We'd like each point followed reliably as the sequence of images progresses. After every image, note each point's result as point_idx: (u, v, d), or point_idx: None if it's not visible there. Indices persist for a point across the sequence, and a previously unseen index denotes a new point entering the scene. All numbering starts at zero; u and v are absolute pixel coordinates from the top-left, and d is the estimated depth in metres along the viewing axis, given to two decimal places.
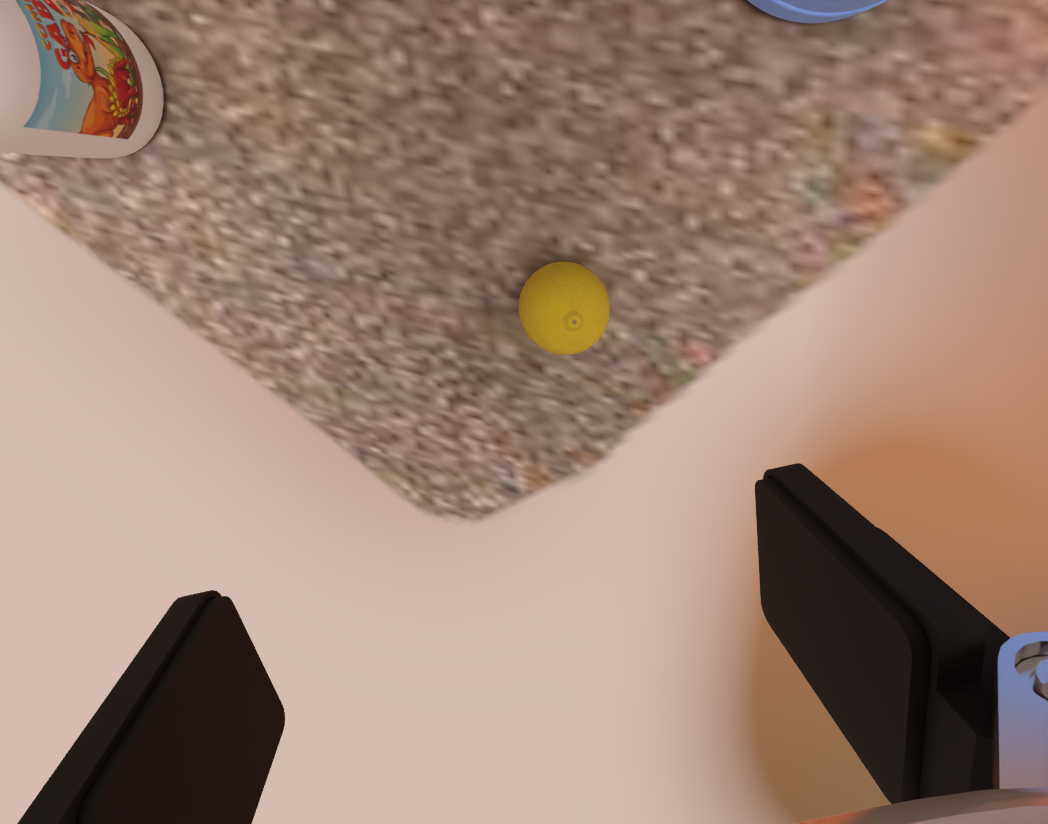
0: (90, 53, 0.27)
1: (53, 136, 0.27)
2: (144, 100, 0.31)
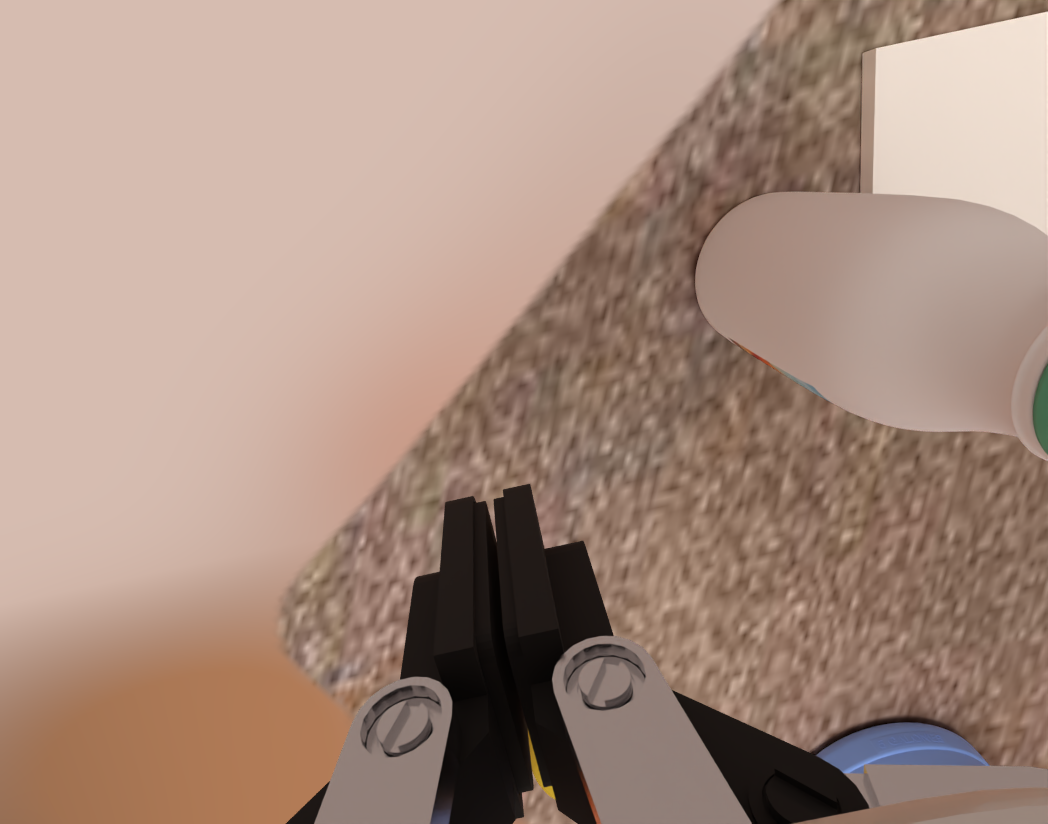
0: None
1: (779, 364, 0.23)
2: None
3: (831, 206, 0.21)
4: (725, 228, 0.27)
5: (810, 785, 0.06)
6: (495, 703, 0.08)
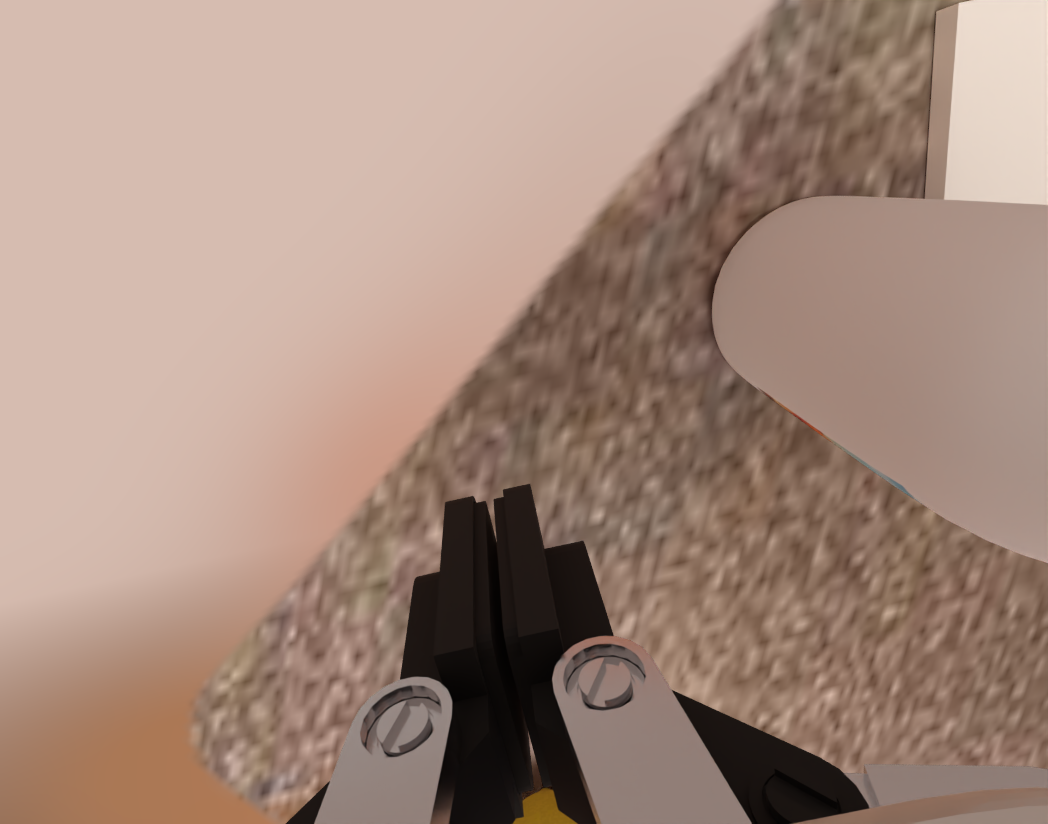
0: None
1: (842, 442, 0.16)
2: None
3: (925, 220, 0.15)
4: (754, 244, 0.21)
5: (810, 785, 0.06)
6: (495, 703, 0.08)
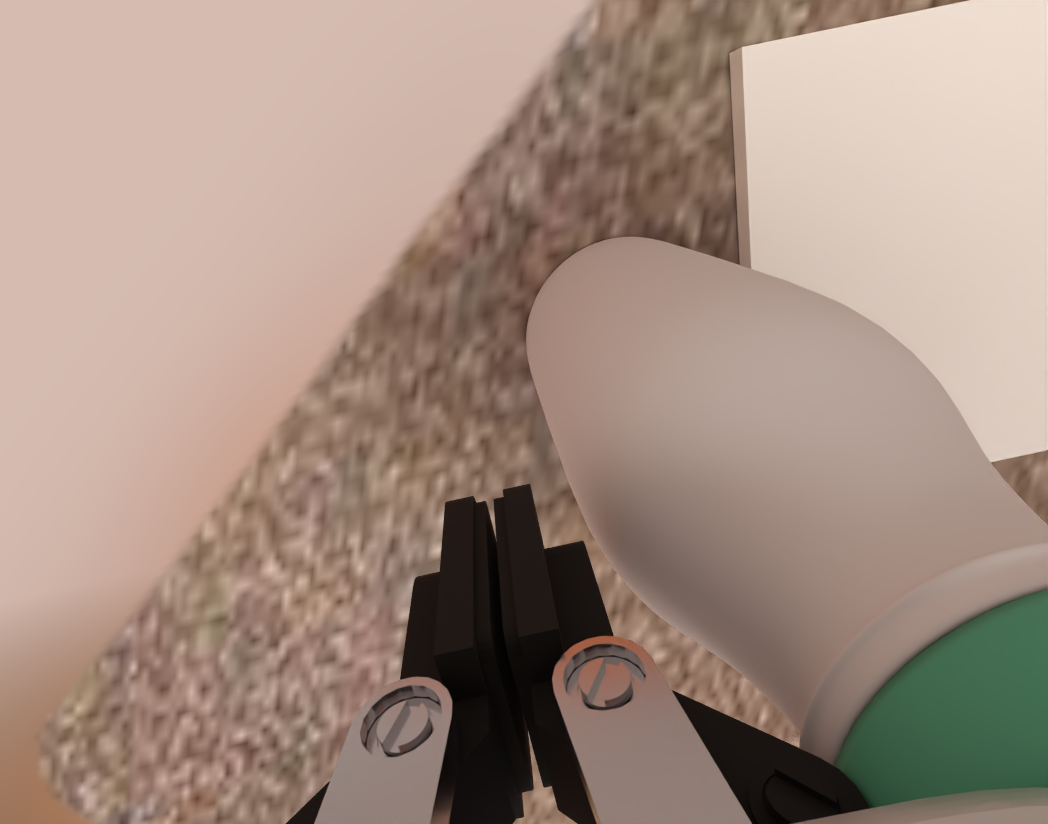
0: None
1: None
2: None
3: (639, 280, 0.14)
4: (550, 287, 0.20)
5: (810, 785, 0.06)
6: (495, 703, 0.08)
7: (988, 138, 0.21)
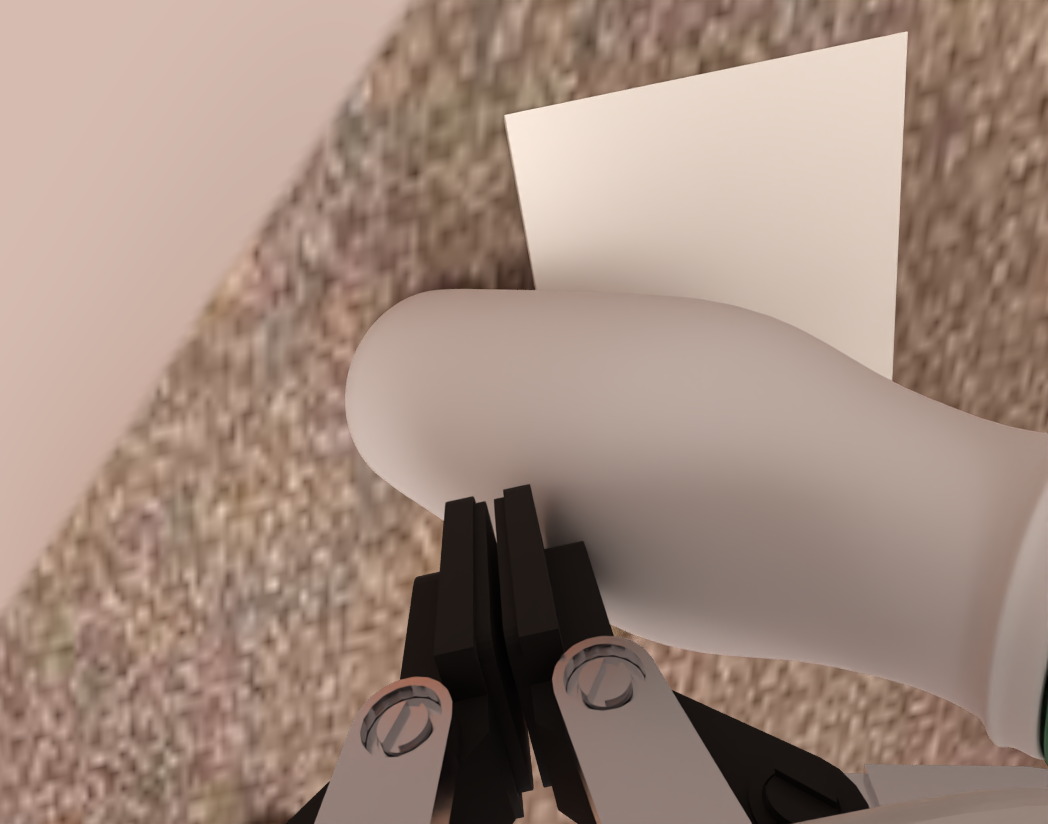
0: None
1: None
2: None
3: (529, 311, 0.14)
4: (377, 342, 0.18)
5: (810, 785, 0.06)
6: (495, 703, 0.08)
7: (763, 197, 0.22)
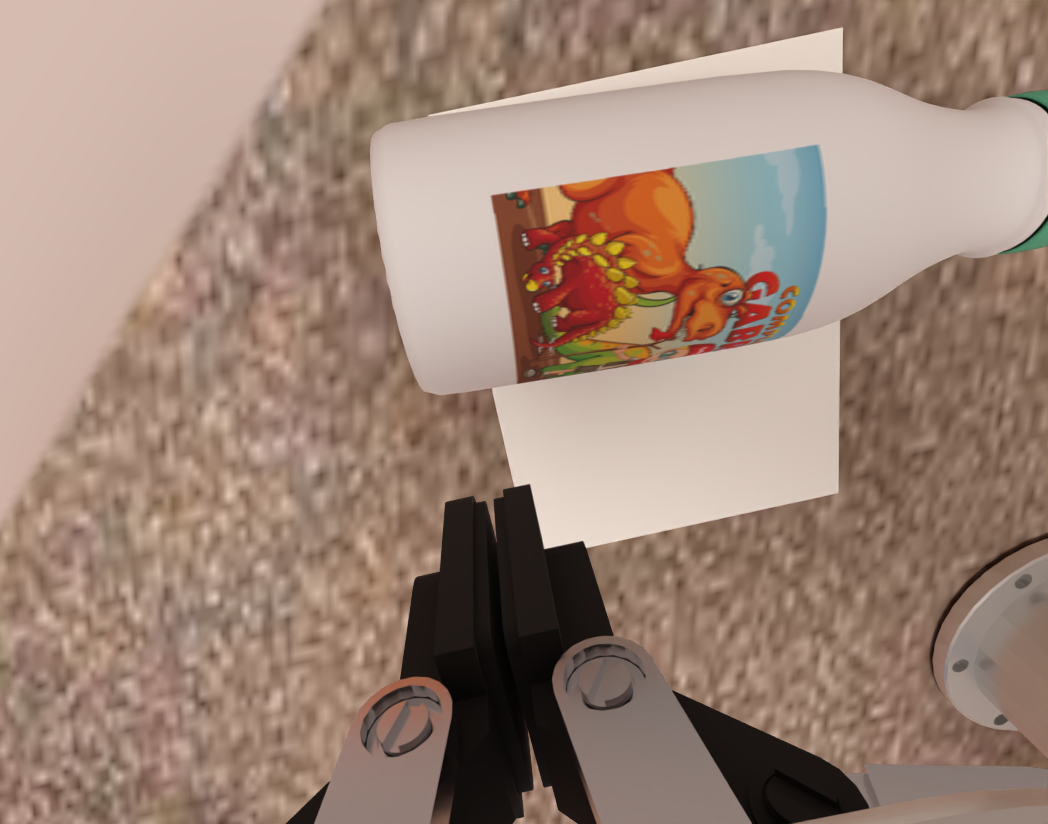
0: (674, 317, 0.15)
1: (727, 144, 0.14)
2: (499, 295, 0.14)
3: None
4: None
5: (810, 785, 0.06)
6: (495, 703, 0.08)
7: None
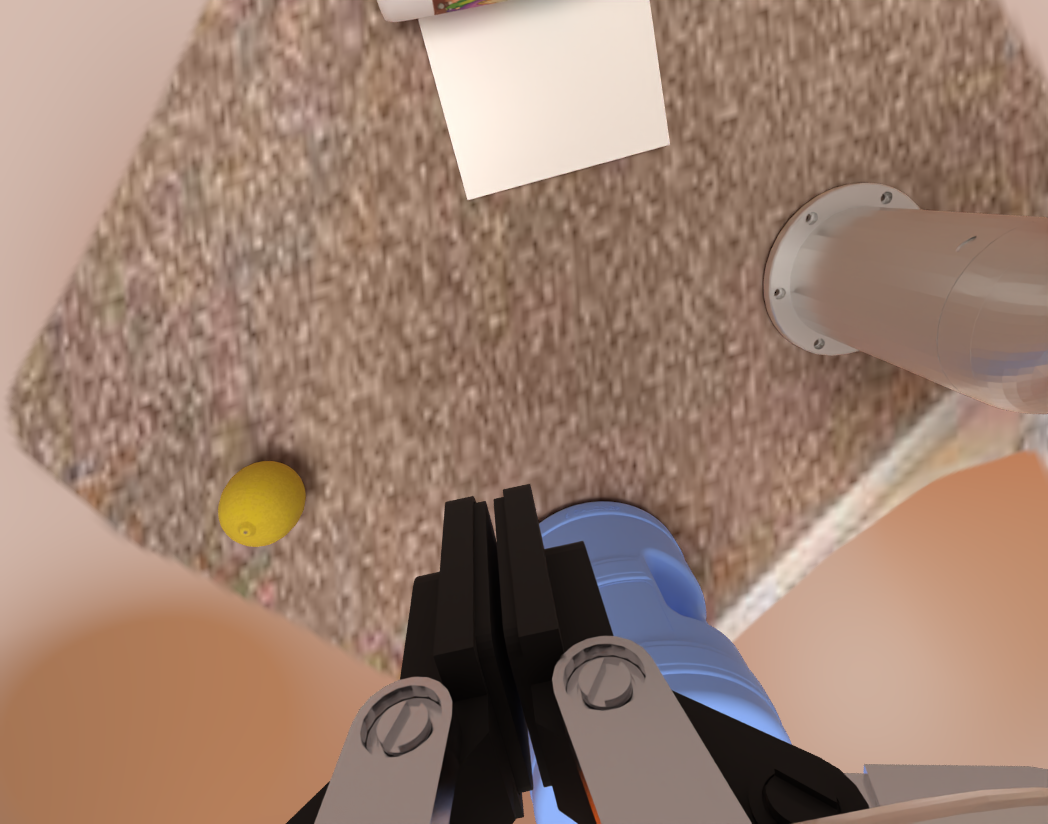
0: None
1: None
2: None
3: None
4: None
5: (810, 785, 0.06)
6: (495, 703, 0.08)
7: None
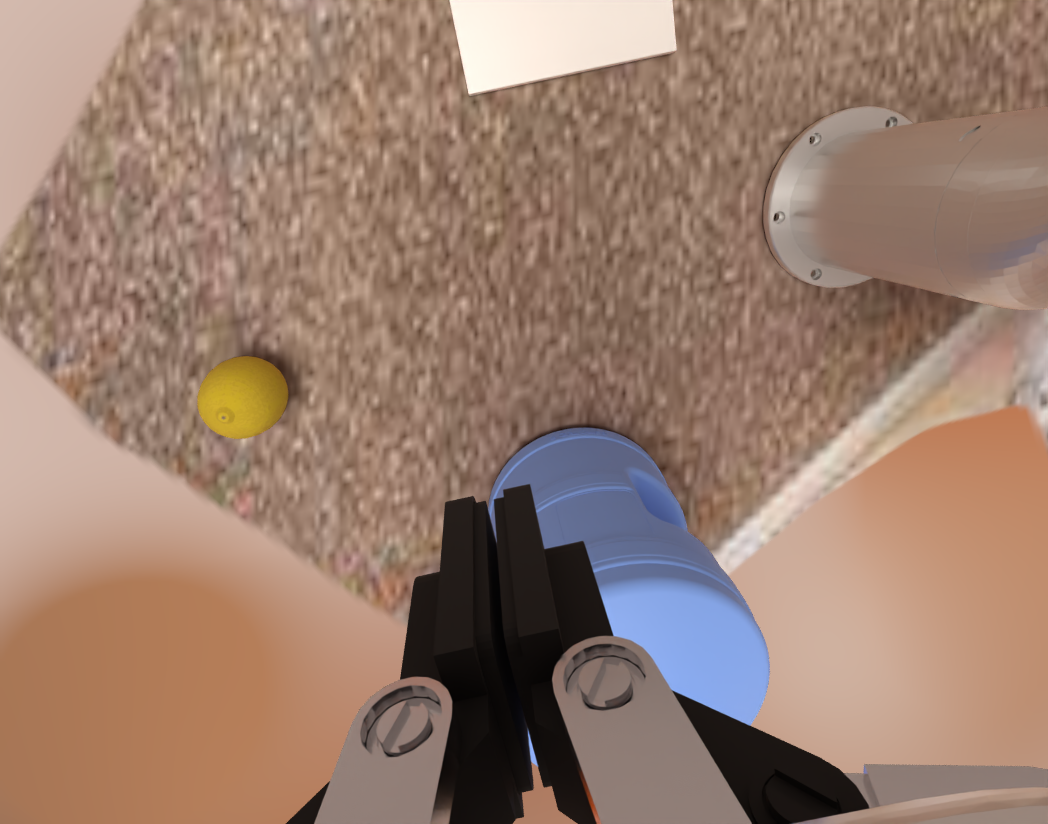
0: None
1: None
2: None
3: None
4: None
5: (810, 785, 0.06)
6: (495, 703, 0.08)
7: None
